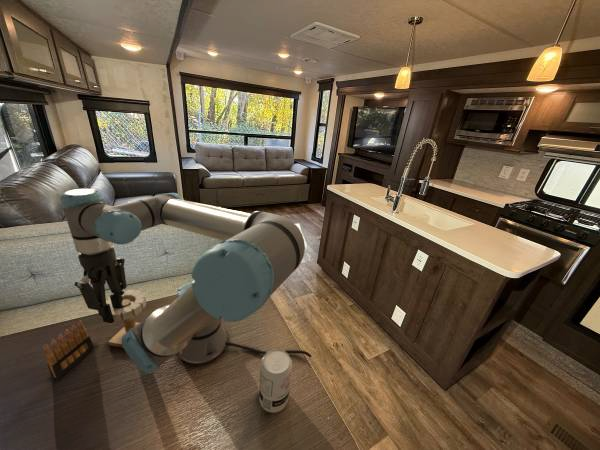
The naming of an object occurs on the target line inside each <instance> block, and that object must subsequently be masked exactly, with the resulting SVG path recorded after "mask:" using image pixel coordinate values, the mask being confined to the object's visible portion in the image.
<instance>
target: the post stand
mask: <svg viewBox="0 0 600 450" xmlns="http://www.w3.org/2000/svg"><path fill="white" fill-rule="evenodd" d="M131 302H132V301H130V300H129V299H125V300H123V302H122V305H123V308H125V307H128V306H130V305H131V304H132V303H131ZM122 323H123V327H122V328H121V329H120V330H119V331H118V332H117V333H115V334H114V335H113V336H112V338H110V339H109V341H108V342H107V343H108V346H110V347H117V348H122V349H124V347H123V345H122V341H121V340H122V336H123V335H124V334H126V333H127V332H128V331H129V330H130V329H133V328H134V327H136V326H137V325H139V324H140V323H141V322H137V321H136V319H135V316H134V315H133V317H132V318H130V319H127V320H124V319H122Z"/></svg>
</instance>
